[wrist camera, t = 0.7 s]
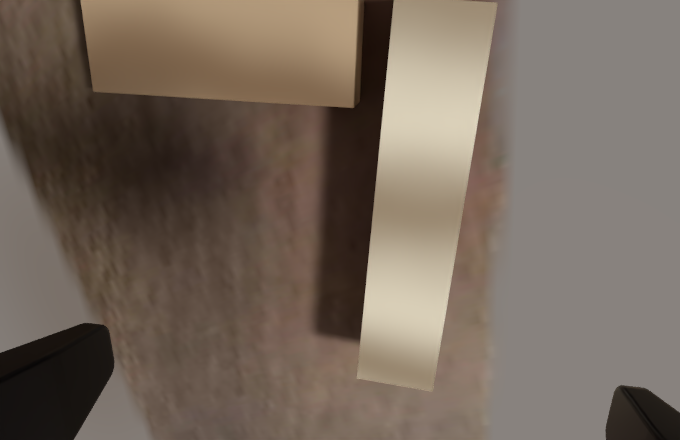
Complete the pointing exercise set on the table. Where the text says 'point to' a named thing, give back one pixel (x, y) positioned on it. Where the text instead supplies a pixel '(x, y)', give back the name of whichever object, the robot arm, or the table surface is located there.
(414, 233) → the rod
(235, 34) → the balance board
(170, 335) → the table surface
